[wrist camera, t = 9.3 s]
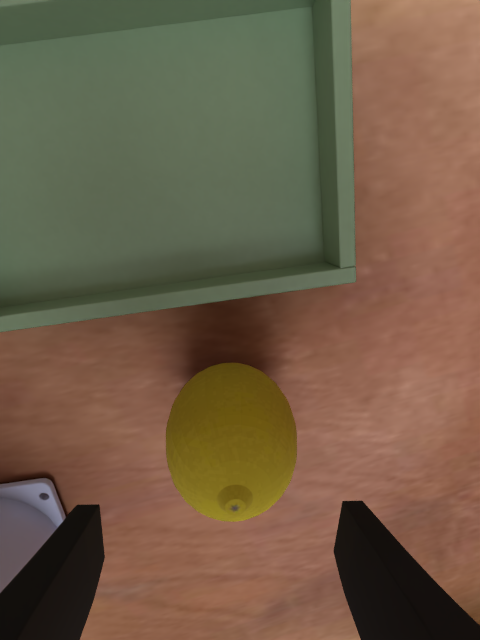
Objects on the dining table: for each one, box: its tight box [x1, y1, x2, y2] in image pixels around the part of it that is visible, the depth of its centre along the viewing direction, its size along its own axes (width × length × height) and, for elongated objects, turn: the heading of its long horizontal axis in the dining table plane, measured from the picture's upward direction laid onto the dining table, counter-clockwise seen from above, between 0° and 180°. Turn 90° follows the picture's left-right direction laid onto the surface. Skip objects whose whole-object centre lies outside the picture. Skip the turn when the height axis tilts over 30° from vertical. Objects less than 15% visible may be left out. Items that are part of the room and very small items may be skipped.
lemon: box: [166, 363, 297, 522], centre depth 14 cm, size 6×6×8 cm
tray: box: [0, 0, 356, 332], centre depth 13 cm, size 11×17×3 cm, turn 97°
